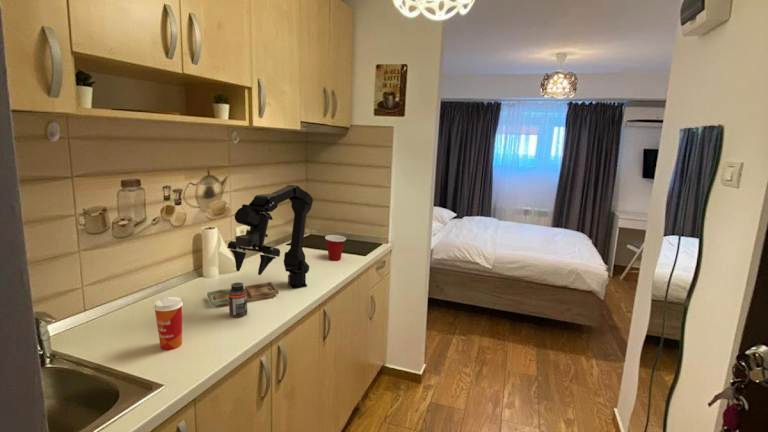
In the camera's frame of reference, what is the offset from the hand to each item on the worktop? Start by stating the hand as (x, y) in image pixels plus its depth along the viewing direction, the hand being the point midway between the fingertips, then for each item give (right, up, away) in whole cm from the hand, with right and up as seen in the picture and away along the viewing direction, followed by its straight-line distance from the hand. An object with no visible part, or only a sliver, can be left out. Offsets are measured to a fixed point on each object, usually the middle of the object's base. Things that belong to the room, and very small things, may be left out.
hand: (248, 273), depth 141 cm
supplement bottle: (-4, -15, +2) cm, 16 cm away
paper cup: (-16, -19, -20) cm, 32 cm away
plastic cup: (+22, -3, +69) cm, 73 cm away
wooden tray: (-8, -12, +17) cm, 22 cm away
